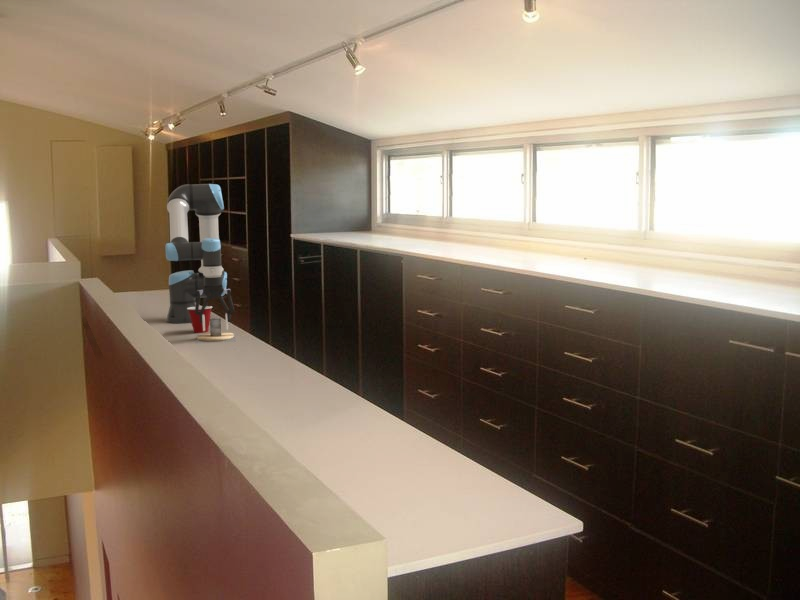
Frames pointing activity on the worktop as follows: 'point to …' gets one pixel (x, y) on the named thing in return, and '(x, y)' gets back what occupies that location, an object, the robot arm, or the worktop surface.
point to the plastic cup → (196, 320)
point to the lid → (215, 332)
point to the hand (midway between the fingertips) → (215, 329)
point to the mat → (218, 341)
